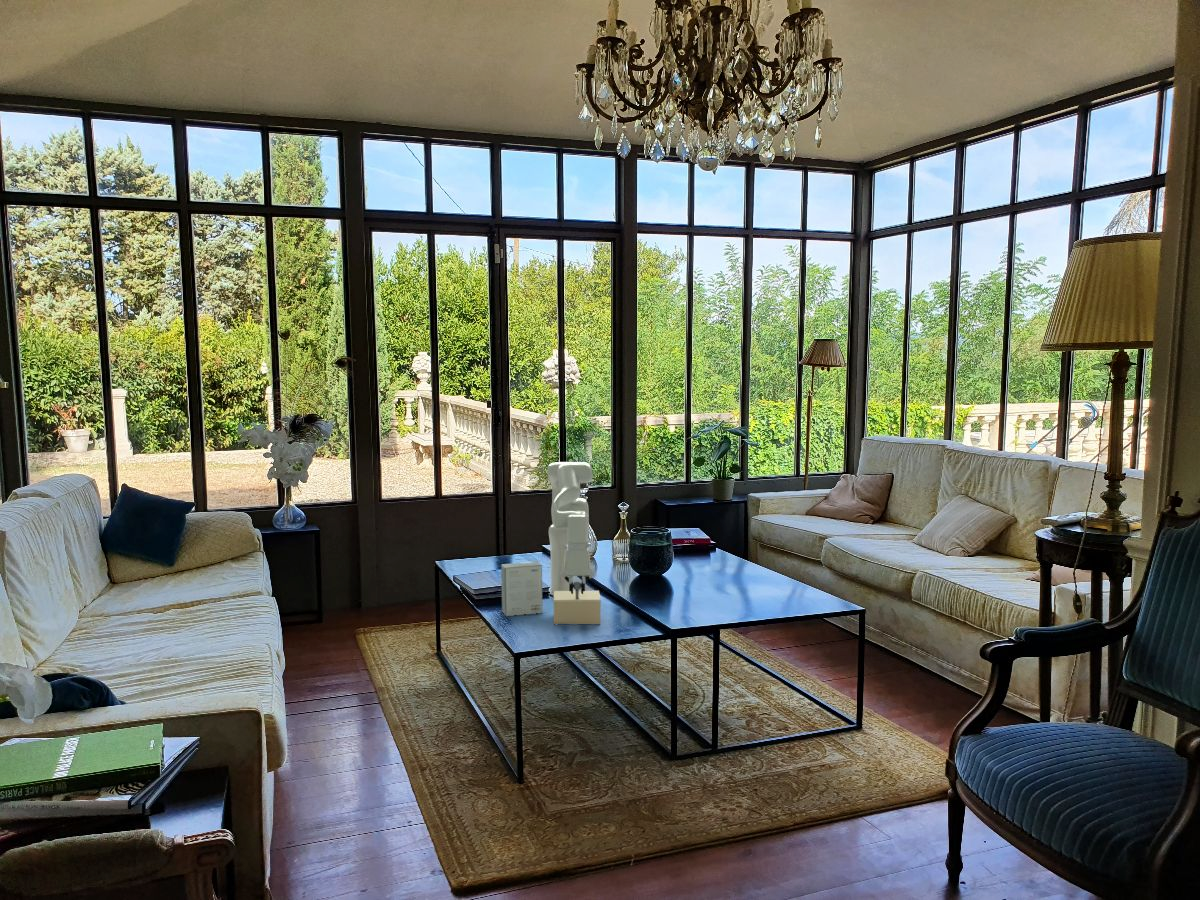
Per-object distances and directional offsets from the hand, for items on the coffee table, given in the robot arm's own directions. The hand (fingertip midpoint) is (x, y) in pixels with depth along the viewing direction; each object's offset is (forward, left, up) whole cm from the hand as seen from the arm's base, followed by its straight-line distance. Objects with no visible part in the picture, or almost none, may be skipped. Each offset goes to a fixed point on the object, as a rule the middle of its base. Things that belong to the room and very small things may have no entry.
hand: (577, 592), depth 326 cm
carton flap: (-5, 0, -3) cm, 6 cm away
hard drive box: (-16, -22, -12) cm, 30 cm away
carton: (-5, 0, -12) cm, 13 cm away
